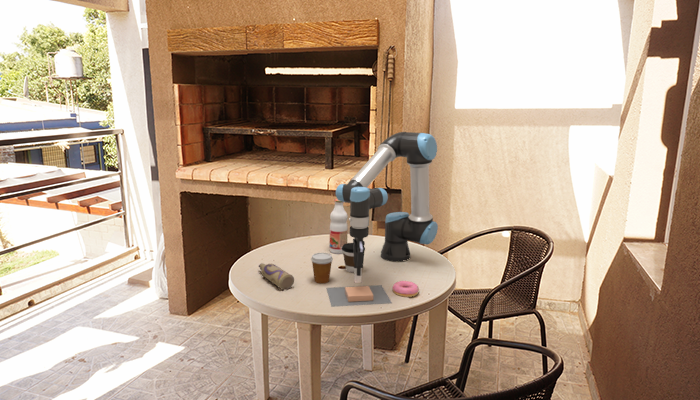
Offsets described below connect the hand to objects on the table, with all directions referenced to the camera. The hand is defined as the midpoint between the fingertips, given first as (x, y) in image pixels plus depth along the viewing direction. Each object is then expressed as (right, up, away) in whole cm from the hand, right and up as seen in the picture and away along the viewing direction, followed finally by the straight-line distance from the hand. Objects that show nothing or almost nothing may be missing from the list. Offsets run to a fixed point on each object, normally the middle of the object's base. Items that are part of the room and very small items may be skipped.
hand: (357, 282), depth 183 cm
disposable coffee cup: (-16, -3, +15) cm, 22 cm away
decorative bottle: (-36, -2, +15) cm, 39 cm away
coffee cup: (-2, 0, +29) cm, 29 cm away
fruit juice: (-9, +6, +55) cm, 56 cm away
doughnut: (+20, -6, +5) cm, 21 cm away
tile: (0, -4, +3) cm, 5 cm away
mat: (0, -6, 0) cm, 6 cm away
